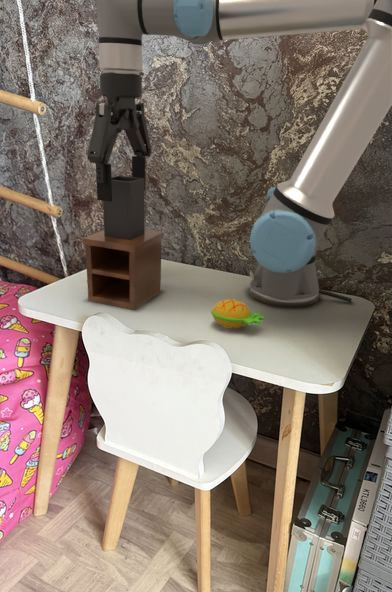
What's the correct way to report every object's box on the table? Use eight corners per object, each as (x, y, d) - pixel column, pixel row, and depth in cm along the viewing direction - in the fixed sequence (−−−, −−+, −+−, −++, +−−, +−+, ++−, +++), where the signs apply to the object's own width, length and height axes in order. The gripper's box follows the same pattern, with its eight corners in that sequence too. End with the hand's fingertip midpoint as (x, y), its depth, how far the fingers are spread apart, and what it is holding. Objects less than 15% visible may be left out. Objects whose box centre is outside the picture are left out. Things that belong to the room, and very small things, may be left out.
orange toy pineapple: (218, 316, 104) (220, 291, 101) (266, 326, 100) (269, 300, 98) (204, 329, 98) (205, 302, 96) (255, 340, 94) (257, 313, 92)
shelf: (162, 291, 115) (163, 232, 109) (135, 310, 105) (135, 246, 99) (116, 283, 119) (114, 225, 113) (86, 301, 108) (82, 238, 102)
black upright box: (144, 233, 108) (144, 178, 103) (130, 240, 103) (130, 182, 98) (119, 229, 109) (117, 175, 105) (104, 236, 104) (102, 179, 99)
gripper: (134, 74, 104) (135, 184, 114) (61, 68, 83) (69, 203, 93) (169, 76, 102) (166, 188, 112) (102, 70, 81) (106, 208, 91)
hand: (122, 195), depth 102 cm, fingers open, 13 cm apart
